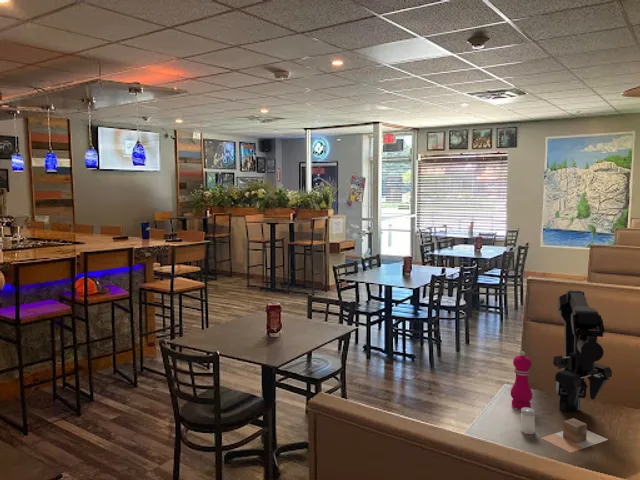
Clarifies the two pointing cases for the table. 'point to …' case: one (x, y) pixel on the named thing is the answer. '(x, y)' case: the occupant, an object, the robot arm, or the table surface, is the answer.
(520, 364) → the pepper mill
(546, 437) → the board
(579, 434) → the block
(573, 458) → the table surface
